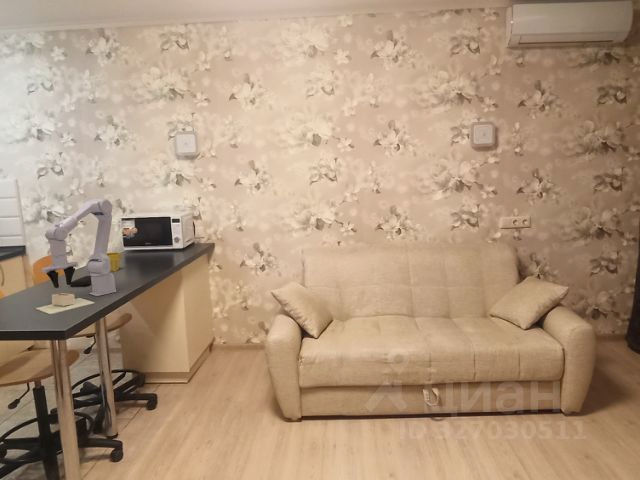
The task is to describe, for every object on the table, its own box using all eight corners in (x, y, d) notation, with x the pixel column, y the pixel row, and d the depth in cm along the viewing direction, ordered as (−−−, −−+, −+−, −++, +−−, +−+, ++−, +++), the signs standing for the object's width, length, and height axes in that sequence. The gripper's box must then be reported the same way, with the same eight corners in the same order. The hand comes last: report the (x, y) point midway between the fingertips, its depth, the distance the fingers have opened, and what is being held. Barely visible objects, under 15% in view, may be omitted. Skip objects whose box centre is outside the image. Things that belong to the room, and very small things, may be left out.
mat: (79, 298, 210) (79, 297, 210) (94, 303, 201) (94, 302, 201) (36, 309, 196) (35, 308, 196) (50, 314, 187) (50, 313, 187)
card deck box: (74, 303, 200) (74, 294, 199) (63, 305, 195) (63, 296, 195) (63, 302, 203) (63, 292, 203) (52, 304, 199) (51, 294, 199)
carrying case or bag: (84, 280, 246) (66, 288, 232) (83, 275, 246) (65, 282, 232) (103, 280, 245) (86, 287, 231) (102, 274, 245) (85, 281, 230)
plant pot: (125, 268, 272) (123, 252, 271) (116, 272, 262) (114, 255, 260) (108, 268, 273) (107, 252, 272) (98, 272, 263) (97, 255, 261)
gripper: (70, 251, 204) (73, 281, 207) (36, 257, 192) (40, 289, 194) (79, 252, 201) (83, 283, 203) (45, 258, 189) (49, 291, 191)
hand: (62, 286), depth 198 cm, fingers open, 5 cm apart
